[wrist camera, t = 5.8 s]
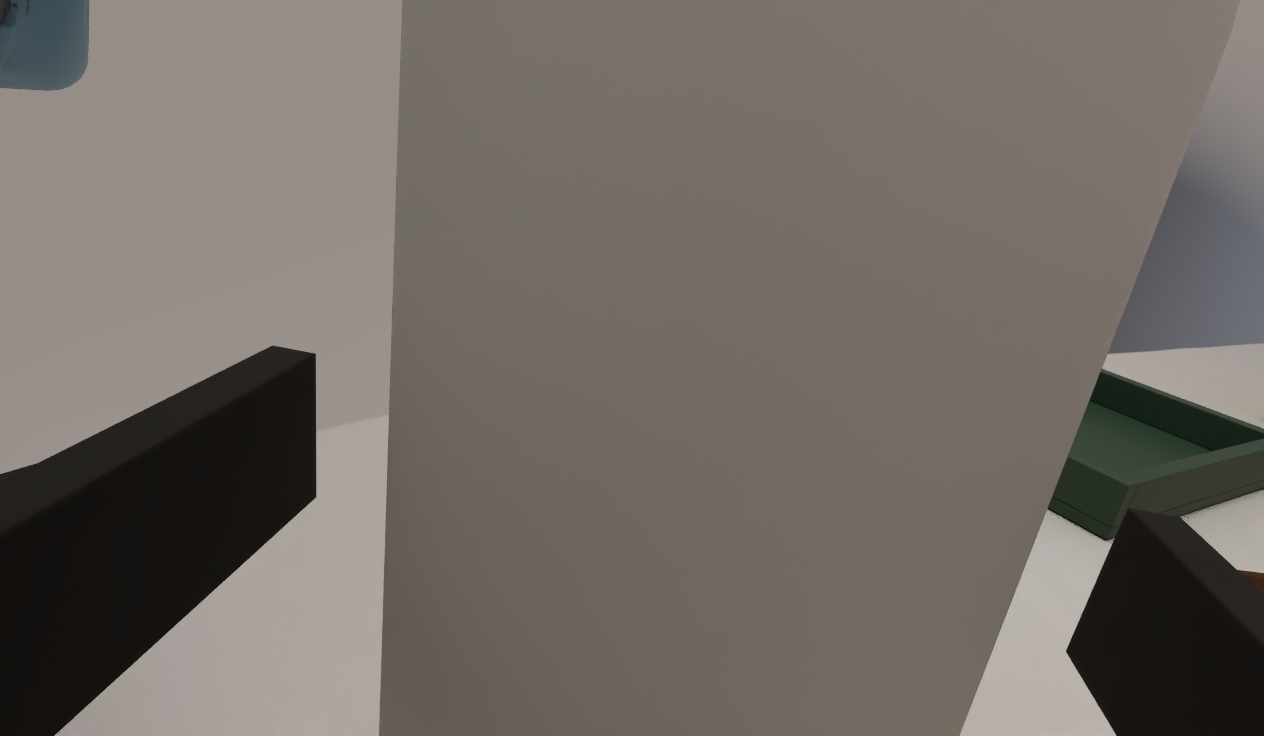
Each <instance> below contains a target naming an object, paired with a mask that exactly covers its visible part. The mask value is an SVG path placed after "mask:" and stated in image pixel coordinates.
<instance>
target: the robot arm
mask: <svg viewBox="0 0 1264 736" xmlns="http://www.w3.org/2000/svg"><path fill="white" fill-rule="evenodd" d="M88 43H89V0H0V88H12V89H28V90H45V91H50V90H60V89H64V88H66V87H69V86H71V85H73V84H74V83H76V82H77V81H78V80H79V79H80V78H81V77H82V75H83V74H84V72H85V69H86V67H87V61H88V45H89V44H88ZM315 498H316V354H314V353H308V352H303V351H298V350H293V349H288V348H283V347H277V346H271V347H269V348H267V349H265V350H263V351H261V352H259V353H257V354H255V355H253V356H251V357H249V358H247V359H245V360H243V361H241V362H239V363H237V364H235V365H233V366H231V367H229V368H227V369H225V370H223V371H221V372H219V373H217V374H215V375H213V376H211V377H209V378H207V379H205V380H203V381H201V382H199V383H197V384H195V385H193V386H191V387H189V388H187V389H185V390H183V391H181V392H179V393H177V394H175V395H173V396H172V397H169V398H167V399H165V400H163V401H161V402H159V403H157V404H155V405H153V406H151V407H149V408H147V409H145V410H143V411H141V412H139V413H137V414H135V415H133V416H131V417H129V418H127V419H125V420H123V421H121V422H119V423H117V424H115V425H113V426H111V427H109V428H107V429H106V430H104V431H101V432H99V433H98V434H96V435H93V436H91V437H89V438H87V439H85V440H83V441H81V442H79V443H77V444H75V445H73V446H71V447H69V448H67V449H65V450H63V451H61V452H59V453H57V454H55V455H54V456H51V457H49V458H47V459H45V460H43V461H41V462H40V463H37V464H34V465H30V466H27V467H23V468H20V469H17V470H13V471H10V472H7V473H3V474H0V736H54V735H55V734H56V733H58V732H59V731H60V730H61V729H62V728H63V727H64V726H65V725H66V724H67V723H69V722H70V721H71V720H72V719H73V718H74V717H75V716H76V715H77V714H78V713H80V712H81V711H82V710H83V709H84V708H85V707H86V706H87V705H88V704H89V703H90V702H92V701H93V700H94V699H95V698H96V697H97V696H98V695H99V694H100V693H101V692H103V691H104V690H105V689H106V688H107V687H108V686H109V685H110V684H111V683H112V682H114V681H115V680H116V679H117V678H118V677H119V676H120V675H121V674H122V673H123V672H125V671H126V670H127V669H128V668H129V667H130V666H131V665H132V664H133V663H134V662H136V661H137V660H138V659H139V658H140V657H141V656H142V655H143V654H144V653H145V652H147V651H148V650H149V649H150V648H151V647H152V646H153V645H154V644H155V643H156V642H158V641H159V640H160V639H161V638H162V637H163V636H164V635H165V634H166V633H167V632H168V631H170V630H171V629H172V628H173V627H174V626H175V625H176V624H177V623H178V622H179V621H181V620H182V619H183V618H184V617H185V616H186V615H187V614H188V613H189V612H190V611H192V610H193V609H194V608H195V607H196V606H197V605H198V604H199V603H200V602H201V601H203V600H204V599H205V598H206V597H207V596H208V595H209V594H210V593H211V592H212V591H214V590H215V589H216V588H217V587H218V586H219V585H220V584H221V583H222V582H223V581H225V580H226V579H227V578H228V577H229V576H230V575H231V574H232V573H233V572H234V571H236V570H237V569H238V568H239V567H240V566H241V565H242V564H243V563H244V562H245V561H247V560H248V559H249V558H250V557H251V556H252V555H253V554H254V553H255V552H256V551H257V550H259V549H260V548H261V547H262V546H263V545H264V544H265V543H266V542H267V541H268V540H270V539H271V538H272V537H273V536H274V535H275V534H276V533H277V532H278V531H279V530H281V529H282V528H283V527H284V526H285V525H286V524H287V523H288V522H289V521H290V520H292V519H293V518H294V517H295V516H296V515H297V514H298V513H299V512H300V511H301V510H303V509H304V508H305V507H306V506H307V505H308V504H309V503H310V502H311V501H312V500H314V499H315ZM1066 652H1067V654H1068V656H1069V657H1070V659H1071V661H1072V662H1073V664H1074V666H1075V667H1076V669H1077V671H1078V672H1079V674H1080V676H1081V677H1082V679H1083V681H1084V682H1085V684H1086V686H1087V687H1088V689H1089V691H1090V692H1091V694H1092V696H1093V697H1094V699H1095V700H1096V702H1097V704H1098V705H1099V707H1100V709H1101V710H1102V712H1103V714H1104V715H1105V717H1106V719H1107V720H1108V722H1109V724H1110V725H1111V727H1112V729H1113V730H1114V732H1115V734H1116V735H1117V736H1264V594H1262V593H1261V592H1260V591H1259V590H1258V589H1257V588H1256V587H1255V586H1254V585H1253V584H1252V583H1251V582H1249V581H1248V580H1247V579H1246V578H1245V577H1244V576H1243V575H1242V574H1241V573H1240V572H1239V571H1238V570H1236V569H1235V568H1234V567H1233V566H1232V565H1231V564H1230V563H1229V562H1228V561H1227V560H1226V559H1225V558H1223V557H1222V556H1221V555H1220V554H1219V553H1218V552H1217V551H1216V550H1215V549H1214V548H1213V547H1212V546H1211V545H1209V544H1208V543H1207V542H1206V541H1205V540H1204V539H1203V538H1202V537H1201V536H1200V535H1199V534H1198V533H1196V532H1195V531H1194V530H1193V529H1192V528H1191V527H1190V526H1189V525H1188V524H1187V523H1186V522H1185V521H1183V520H1182V519H1181V518H1180V517H1175V516H1170V515H1164V514H1159V513H1154V512H1148V511H1143V510H1138V509H1133V508H1128V509H1127V511H1126V514H1125V516H1124V518H1123V521H1122V523H1121V525H1120V528H1119V530H1118V532H1117V534H1116V537H1115V539H1114V541H1113V544H1112V546H1111V548H1110V551H1109V553H1108V555H1107V558H1106V560H1105V562H1104V565H1103V567H1102V569H1101V571H1100V574H1099V576H1098V578H1097V581H1096V583H1095V585H1094V588H1093V590H1092V592H1091V595H1090V597H1089V599H1088V602H1087V604H1086V606H1085V608H1084V611H1083V613H1082V615H1081V618H1080V620H1079V622H1078V625H1077V627H1076V629H1075V632H1074V634H1073V636H1072V639H1071V641H1070V643H1069V645H1068V648H1067V650H1066Z"/></svg>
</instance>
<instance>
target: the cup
mask: <svg viewBox="0 0 1264 736" xmlns="http://www.w3.org/2000/svg"><path fill="white" fill-rule="evenodd" d="M1239 1H1240V0H403V1H402V30H401V59H400V90H399V119H398V149H397V177H396V179H397V180H396V211H395V244H394V275H393V308H392V341H391V370H390V402H389V435H388V467H387V499H386V531H385V563H384V595H383V627H382V660H381V692H380V724H379V736H959V735H960V733H961V730H962V727H963V725H964V722H965V720H966V717H967V715H968V712H969V709H970V707H971V704H972V702H973V699H974V696H975V694H976V691H977V689H978V686H979V684H980V681H981V678H982V676H983V673H984V671H985V668H986V666H987V663H988V660H989V658H990V655H991V653H992V650H993V647H994V645H995V642H996V640H997V637H998V635H999V632H1000V629H1001V627H1002V624H1003V622H1004V619H1005V616H1006V614H1007V611H1008V609H1009V606H1010V604H1011V601H1012V598H1013V596H1014V593H1015V591H1016V588H1017V586H1018V583H1019V580H1020V578H1021V575H1022V573H1023V570H1024V567H1025V565H1026V562H1027V560H1028V557H1029V555H1030V552H1031V549H1032V547H1033V544H1034V542H1035V539H1036V537H1037V534H1038V531H1039V529H1040V526H1041V524H1042V521H1043V518H1044V516H1045V513H1046V511H1047V508H1048V506H1049V503H1050V500H1051V498H1052V495H1053V493H1054V490H1055V487H1056V485H1057V482H1058V480H1059V477H1060V475H1061V472H1062V469H1063V467H1064V464H1065V462H1066V459H1067V457H1068V454H1069V451H1070V449H1071V446H1072V444H1073V441H1074V438H1075V436H1076V433H1077V431H1078V428H1079V426H1080V423H1081V420H1082V418H1083V415H1084V413H1085V410H1086V408H1087V405H1088V402H1089V400H1090V397H1091V395H1092V392H1093V389H1094V387H1095V384H1096V382H1097V379H1098V377H1099V374H1100V371H1101V369H1102V366H1103V364H1104V361H1105V358H1106V356H1107V353H1108V351H1109V348H1110V346H1111V343H1112V340H1113V338H1114V335H1115V333H1116V330H1117V328H1118V325H1119V322H1120V320H1121V317H1122V315H1123V312H1124V309H1125V307H1126V304H1127V301H1128V299H1129V297H1130V294H1131V291H1132V289H1133V286H1134V284H1135V281H1136V278H1137V276H1138V273H1139V271H1140V267H1141V265H1142V263H1143V260H1144V257H1145V255H1146V252H1147V249H1148V247H1149V244H1150V242H1151V239H1152V237H1153V234H1154V231H1155V229H1156V226H1157V224H1158V221H1159V218H1160V216H1161V213H1162V211H1163V208H1164V205H1165V203H1166V200H1167V197H1168V195H1169V192H1170V190H1171V187H1172V184H1173V182H1174V179H1175V176H1176V174H1177V172H1178V169H1179V166H1180V164H1181V161H1182V159H1183V156H1184V153H1185V151H1186V148H1187V146H1188V143H1189V140H1190V138H1191V135H1192V133H1193V130H1194V127H1195V125H1196V122H1197V120H1198V117H1199V114H1200V112H1201V109H1202V106H1203V104H1204V101H1205V98H1206V96H1207V94H1208V91H1209V88H1210V86H1211V83H1212V80H1213V78H1214V75H1215V73H1216V70H1217V68H1218V65H1219V62H1220V60H1221V57H1222V55H1223V52H1224V49H1225V47H1226V44H1227V42H1228V39H1229V36H1230V34H1231V31H1232V28H1233V24H1234V21H1235V17H1236V13H1237V9H1238V5H1239Z"/></svg>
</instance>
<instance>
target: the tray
mask: <svg viewBox="0 0 1264 736" xmlns="http://www.w3.org/2000/svg"><path fill="white" fill-rule="evenodd" d="M1262 488H1264V429H1263V428H1260V427H1257V426H1255V425H1252V424H1249V423H1247V422H1244V421H1241V420H1239V419H1236V418H1233V417H1230V416H1228V415H1225V414H1222V413H1220V412H1217V411H1214V410H1211V409H1209V408H1206V407H1203V406H1201V405H1198V404H1195V403H1193V402H1190V401H1187V400H1184V399H1182V398H1179V397H1176V396H1174V395H1171V394H1168V393H1166V392H1163V391H1160V390H1157V389H1155V388H1152V387H1149V386H1147V385H1144V384H1141V383H1139V382H1136V381H1133V380H1130V379H1128V378H1125V377H1122V376H1120V375H1117V374H1114V373H1112V372H1109V371H1106V370H1103V369H1101V371H1100V374H1099V377H1098V379H1097V382H1096V384H1095V387H1094V389H1093V392H1092V395H1091V397H1090V400H1089V402H1088V405H1087V408H1086V410H1085V413H1084V415H1083V418H1082V420H1081V423H1080V426H1079V428H1078V431H1077V433H1076V436H1075V438H1074V441H1073V444H1072V446H1071V449H1070V451H1069V454H1068V457H1067V459H1066V462H1065V464H1064V467H1063V469H1062V472H1061V475H1060V477H1059V480H1058V482H1057V485H1056V487H1055V490H1054V493H1053V495H1052V498H1051V500H1050V503H1049V506H1048V508H1049V509H1051V510H1053V511H1055V512H1057V513H1058V514H1060V515H1062V516H1064V517H1066V518H1068V519H1069V520H1071V521H1073V522H1075V523H1077V524H1078V525H1080V526H1082V527H1084V528H1086V529H1087V530H1089V531H1091V532H1093V533H1095V534H1097V535H1098V536H1100V537H1102V538H1104V539H1109V538H1113V537H1116V534H1117V532H1118V530H1119V528H1120V525H1121V523H1122V521H1123V518H1124V516H1125V514H1126V511H1127V509H1128V508H1133V509H1138V510H1143V511H1148V512H1154V513H1159V514H1164V515H1170V516H1175V517H1177V516H1180V515H1183V514H1186V513H1189V512H1192V511H1195V510H1198V509H1201V508H1204V507H1207V506H1210V505H1213V504H1216V503H1219V502H1222V501H1225V500H1228V499H1231V498H1234V497H1237V496H1240V495H1244V494H1247V493H1250V492H1253V491H1256V490H1259V489H1262Z"/></svg>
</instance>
